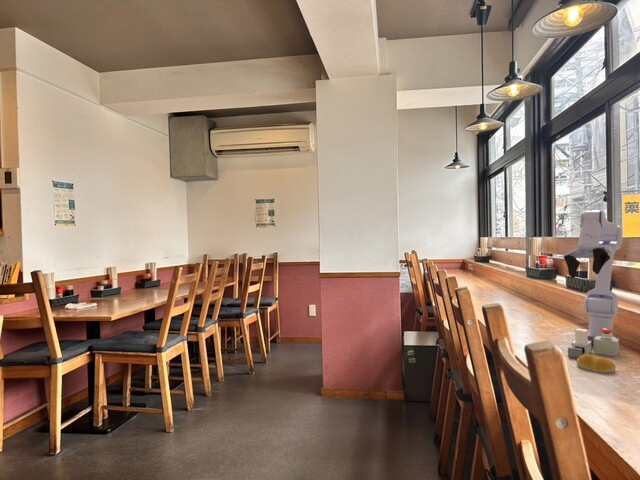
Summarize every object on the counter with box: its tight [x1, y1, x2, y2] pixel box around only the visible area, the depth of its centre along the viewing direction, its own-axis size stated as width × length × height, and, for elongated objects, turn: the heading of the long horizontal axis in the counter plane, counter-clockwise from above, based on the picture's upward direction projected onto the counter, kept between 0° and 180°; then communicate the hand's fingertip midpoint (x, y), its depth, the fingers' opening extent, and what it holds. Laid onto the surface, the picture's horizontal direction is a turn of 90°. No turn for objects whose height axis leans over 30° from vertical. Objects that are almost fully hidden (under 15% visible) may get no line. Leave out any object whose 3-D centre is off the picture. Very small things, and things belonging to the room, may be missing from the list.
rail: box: [567, 335, 595, 360], centre depth 134 cm, size 24×4×3 cm, turn 137°
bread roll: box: [576, 353, 616, 374], centre depth 116 cm, size 8×9×4 cm
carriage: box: [571, 328, 592, 354], centre depth 132 cm, size 6×4×7 cm
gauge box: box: [593, 336, 620, 357], centre depth 132 cm, size 6×6×4 cm
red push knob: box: [600, 328, 614, 340], centre depth 132 cm, size 3×3×5 cm
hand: (583, 274), depth 129 cm, fingers open, 7 cm apart
